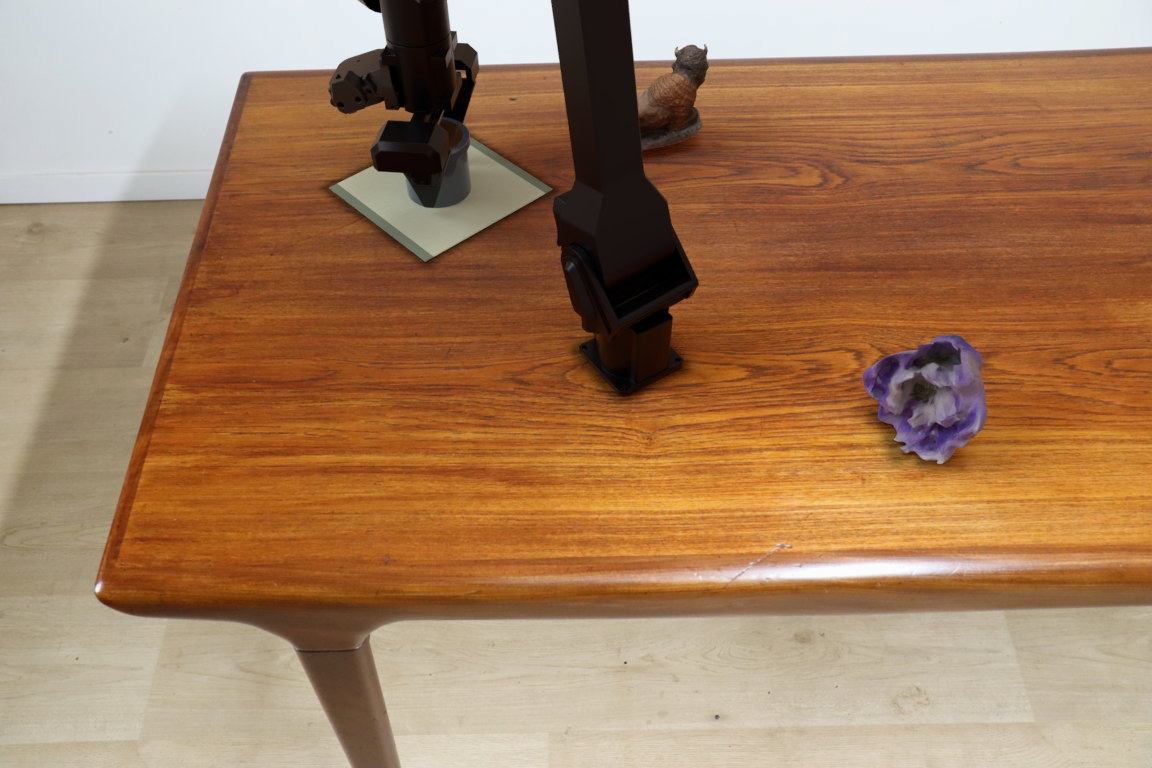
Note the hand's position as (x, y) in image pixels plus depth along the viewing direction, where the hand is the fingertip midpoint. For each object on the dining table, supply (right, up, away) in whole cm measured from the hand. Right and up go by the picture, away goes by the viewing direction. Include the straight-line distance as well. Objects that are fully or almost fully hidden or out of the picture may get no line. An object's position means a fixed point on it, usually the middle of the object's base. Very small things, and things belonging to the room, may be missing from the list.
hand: (439, 180), depth 94 cm
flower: (+41, -23, -20) cm, 51 cm away
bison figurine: (+21, +5, +6) cm, 23 cm away
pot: (0, -1, +1) cm, 1 cm away
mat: (0, -1, +1) cm, 1 cm away
